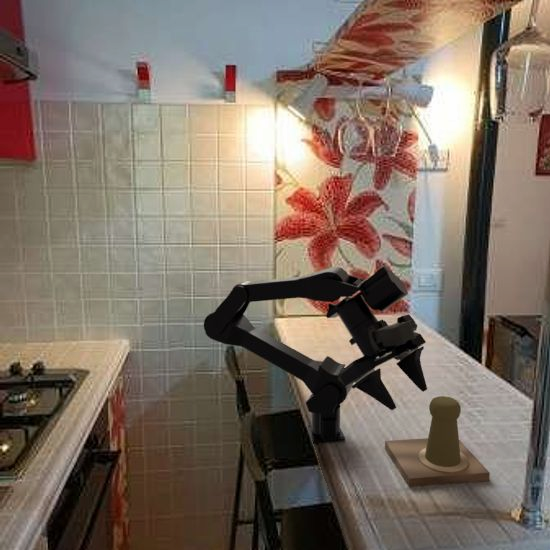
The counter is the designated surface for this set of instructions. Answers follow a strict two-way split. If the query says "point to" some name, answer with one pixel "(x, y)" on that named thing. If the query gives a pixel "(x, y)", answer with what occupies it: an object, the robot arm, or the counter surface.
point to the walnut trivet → (424, 473)
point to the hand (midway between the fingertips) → (410, 399)
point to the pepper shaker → (443, 432)
